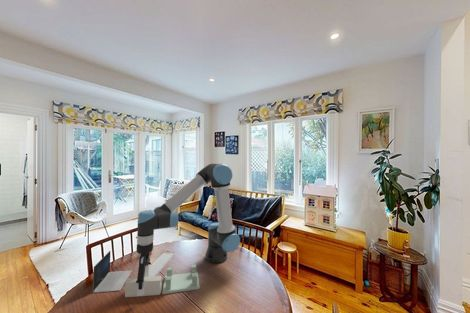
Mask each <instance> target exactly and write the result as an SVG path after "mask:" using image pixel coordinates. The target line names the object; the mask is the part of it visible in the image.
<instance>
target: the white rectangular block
mask: <svg viewBox="0 0 470 313" xmlns="http://www.w3.org/2000/svg"><path fill="white" fill-rule="evenodd" d="M137 277H138V276H137ZM137 277H128V278H127V280H126V281H125V283H124V284H125V285H124V297H125V298H130V297H131V298H132V297H138V296H137V286H138V283H136V281H137ZM162 291H163V276H162V275H156V276H151V277H144V295H142V296H141V297H145V296H159V295H161V293H162Z"/></svg>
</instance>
